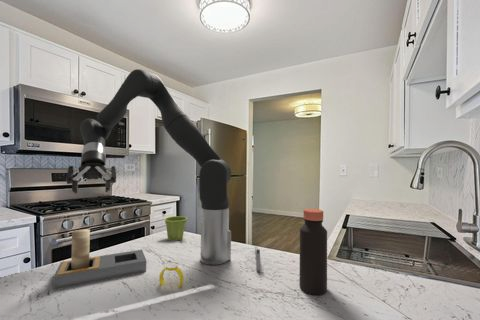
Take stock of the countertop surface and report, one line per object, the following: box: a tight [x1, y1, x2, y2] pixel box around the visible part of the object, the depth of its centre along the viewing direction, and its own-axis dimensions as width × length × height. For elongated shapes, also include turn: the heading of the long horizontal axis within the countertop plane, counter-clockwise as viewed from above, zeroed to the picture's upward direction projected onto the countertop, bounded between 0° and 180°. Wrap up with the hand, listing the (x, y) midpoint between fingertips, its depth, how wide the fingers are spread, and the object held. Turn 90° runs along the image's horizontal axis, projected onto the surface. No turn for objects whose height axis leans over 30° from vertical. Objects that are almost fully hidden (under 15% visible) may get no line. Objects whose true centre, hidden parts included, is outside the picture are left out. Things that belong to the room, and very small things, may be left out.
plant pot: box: [163, 216, 188, 241], centre depth 99 cm, size 9×9×9 cm
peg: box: [70, 228, 91, 270], centre depth 63 cm, size 4×4×12 cm
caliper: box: [254, 245, 261, 272], centre depth 79 cm, size 20×1×6 cm, turn 178°
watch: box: [159, 263, 184, 288], centre depth 59 cm, size 6×3×6 cm, turn 78°
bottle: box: [298, 208, 328, 296], centre depth 60 cm, size 7×7×20 cm
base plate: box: [52, 249, 147, 291], centre depth 66 cm, size 21×10×4 cm, turn 119°
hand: (91, 191), depth 76 cm, fingers open, 8 cm apart
